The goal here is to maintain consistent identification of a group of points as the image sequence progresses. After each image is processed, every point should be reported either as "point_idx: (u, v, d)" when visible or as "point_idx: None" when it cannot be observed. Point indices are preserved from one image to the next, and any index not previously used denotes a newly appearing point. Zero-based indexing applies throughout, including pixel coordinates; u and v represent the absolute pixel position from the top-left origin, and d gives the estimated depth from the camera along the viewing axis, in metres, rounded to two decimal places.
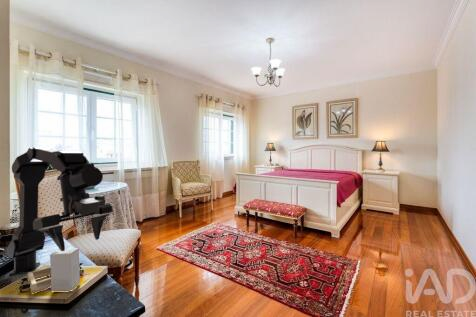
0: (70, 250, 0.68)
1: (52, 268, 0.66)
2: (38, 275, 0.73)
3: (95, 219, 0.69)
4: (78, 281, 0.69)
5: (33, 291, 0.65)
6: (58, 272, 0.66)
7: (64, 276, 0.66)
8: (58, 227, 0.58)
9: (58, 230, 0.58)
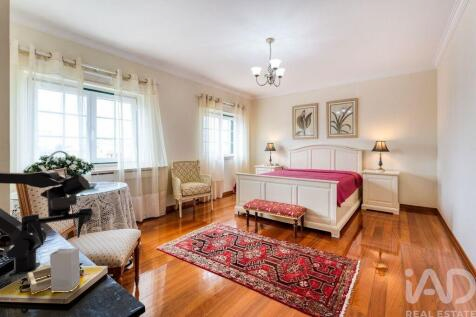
0: (70, 250, 0.68)
1: (52, 268, 0.66)
2: (38, 275, 0.73)
3: None
4: (78, 281, 0.69)
5: (33, 291, 0.65)
6: (58, 272, 0.66)
7: (64, 276, 0.66)
8: (35, 222, 0.69)
9: (36, 225, 0.70)
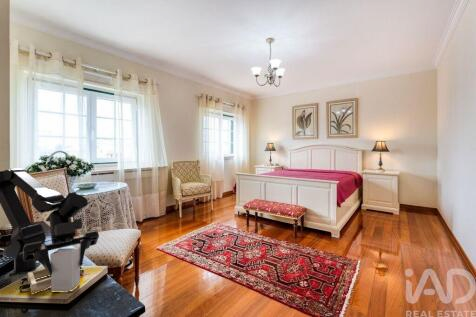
0: (70, 250, 0.68)
1: (52, 268, 0.66)
2: (38, 275, 0.73)
3: (79, 247, 0.73)
4: (78, 281, 0.69)
5: (33, 291, 0.65)
6: (58, 272, 0.66)
7: (64, 276, 0.66)
8: (43, 250, 0.65)
9: (44, 254, 0.65)
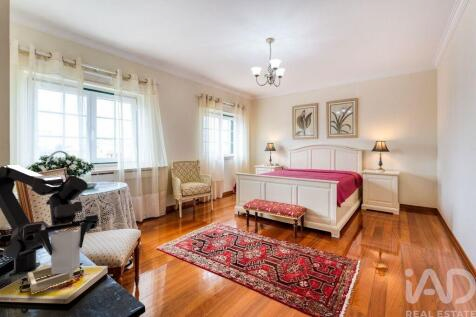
0: (71, 231, 0.68)
1: (52, 249, 0.66)
2: (38, 275, 0.73)
3: (79, 230, 0.73)
4: (78, 263, 0.70)
5: (33, 291, 0.65)
6: (58, 253, 0.66)
7: (64, 257, 0.66)
8: (43, 231, 0.65)
9: (44, 234, 0.65)
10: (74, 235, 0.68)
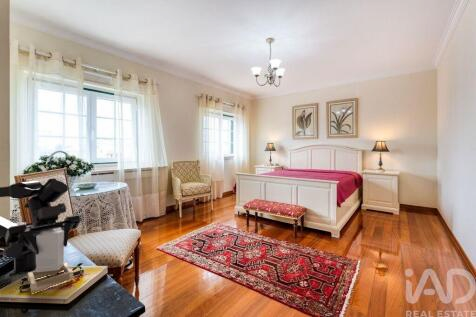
0: (56, 231, 0.73)
1: (38, 248, 0.70)
2: (38, 275, 0.73)
3: (62, 230, 0.77)
4: (62, 261, 0.74)
5: (33, 291, 0.65)
6: (44, 252, 0.70)
7: (50, 255, 0.70)
8: (28, 232, 0.68)
9: (29, 235, 0.69)
10: (60, 235, 0.73)
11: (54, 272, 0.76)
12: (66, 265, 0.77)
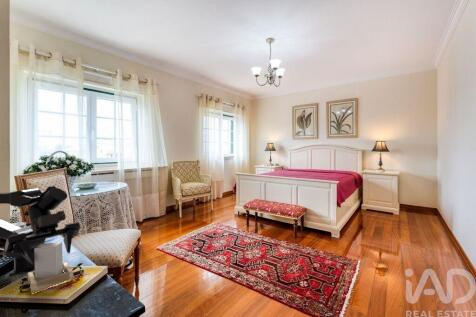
0: (54, 244, 0.72)
1: (36, 261, 0.69)
2: None
3: (65, 237, 0.78)
4: (61, 273, 0.74)
5: (33, 291, 0.65)
6: (42, 265, 0.70)
7: (48, 268, 0.70)
8: (24, 241, 0.68)
9: (25, 245, 0.68)
10: (58, 247, 0.72)
11: None
12: (66, 265, 0.77)
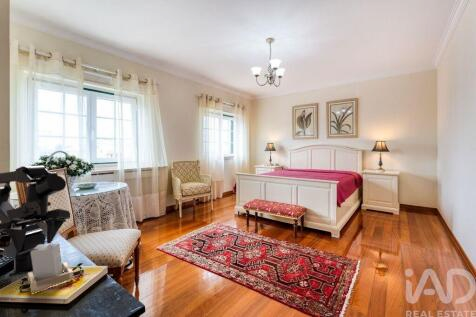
0: (51, 245, 0.71)
1: (34, 263, 0.68)
2: None
3: None
4: (61, 272, 0.74)
5: (33, 291, 0.65)
6: (41, 267, 0.69)
7: (47, 269, 0.69)
8: (7, 230, 0.70)
9: (10, 233, 0.70)
10: (55, 249, 0.70)
11: None
12: (66, 265, 0.77)
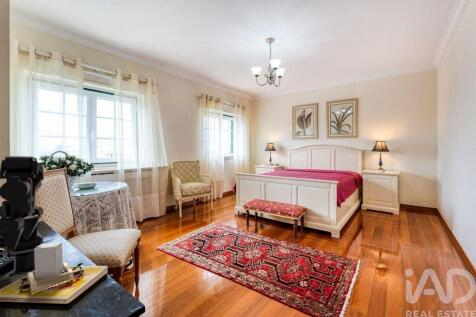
0: (54, 244, 0.72)
1: (36, 261, 0.69)
2: None
3: None
4: (62, 273, 0.74)
5: (33, 291, 0.65)
6: (42, 265, 0.70)
7: (48, 268, 0.70)
8: None
9: None
10: (58, 247, 0.72)
11: None
12: (66, 265, 0.77)
